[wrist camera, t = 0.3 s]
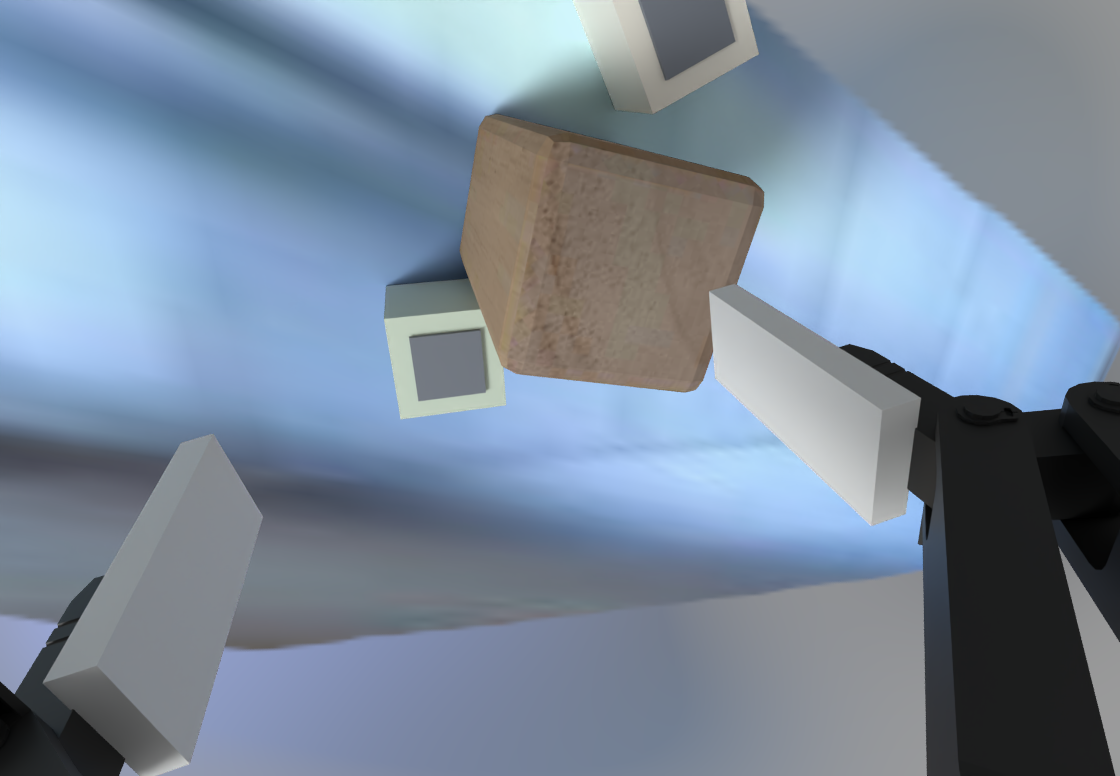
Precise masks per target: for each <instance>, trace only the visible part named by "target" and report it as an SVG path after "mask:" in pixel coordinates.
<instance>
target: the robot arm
mask: <svg viewBox="0 0 1120 776" xmlns="http://www.w3.org/2000/svg"><path fill="white" fill-rule="evenodd" d="M709 300H710V314H711V328H712V342H713V355H714V369H715V379H716V380H717V381H719V382H720V383H721V384H722V385H723V386H724V387H725V388H726V389H727V390H728V391H729V392H730V393H731V394H732V395H733V396H734V397H735V398H736V399H738V400H739V401H740V402H741V403H742V404H743V405H744V406H745V407H746V408H747V409H748V410H749V411H750V412H751V413H752V414H753V415H754V416H755V417H757V418H758V419H759V420H760V421H761V422H762V423H763V424H764V425H765V426H766V427H767V428H768V429H769V430H770V431H771V432H772V433H773V434H775V435H776V436H777V437H778V438H779V439H780V440H781V441H782V442H783V443H784V444H785V445H786V446H787V447H788V448H789V449H790V450H791V451H792V452H794V453H795V454H796V455H797V456H798V457H799V458H800V459H801V460H802V461H803V462H804V463H805V464H806V465H807V466H808V467H809V468H810V469H812V470H813V471H814V472H815V473H816V474H817V475H818V476H819V477H820V478H821V479H822V480H823V481H824V482H825V483H826V484H827V485H828V486H829V487H831V488H832V489H833V490H834V491H835V492H836V493H837V494H838V495H839V496H840V497H841V498H842V499H843V500H844V501H845V502H846V503H847V504H848V505H850V506H851V507H852V508H853V509H854V510H855V511H856V512H857V513H858V514H859V515H860V516H861V517H862V518H863V519H864V520H865V521H866V522H868V523H869V524H870V525H871V526H873V525H876V524H879V523H881V522H884V521H887V520H890V519H893V518H896V517H899V516H901V515H904V514H906V507H907V500H908V492H909V490H910V491H911V492H912V493H913V494H914V495H916V496H917V497H918V498H919V499H921V500H922V501H923V502H924V507H923V514H922V520H921V527H920V534H919V540H918V544H919V545H923V585H924V586H923V588H924V640H925V641H924V643H925V695H926V746H927V747H926V751H927V776H1115V773H1114V769H1113V765H1112V761H1111V757H1110V753H1109V749H1108V745H1107V741H1106V736H1105V732H1104V729H1103V724H1102V720H1101V716H1100V712H1099V708H1098V704H1097V701H1096V696H1095V692H1094V688H1093V684H1092V680H1091V677H1090V672H1089V668H1088V664H1087V660H1086V656H1085V652H1084V648H1083V644H1082V640H1081V636H1080V632H1079V628H1078V624H1077V620H1076V616H1075V612H1074V608H1073V604H1072V599H1071V596H1070V591H1069V587H1068V584H1067V579H1066V575H1065V571H1064V567H1063V563H1062V559H1061V555H1060V551H1059V548H1058V546H1059V547H1060V549H1061V551H1062V552H1063V554H1064V555H1065V557H1066V558H1067V560H1068V561H1069V563H1070V565H1071V566H1072V568H1073V569H1074V571H1075V573H1076V574H1077V576H1078V577H1079V579H1080V580H1081V582H1082V583H1083V585H1084V587H1085V588H1086V590H1087V591H1088V593H1089V595H1090V596H1091V598H1092V599H1093V601H1094V602H1095V604H1096V606H1097V607H1098V609H1099V610H1100V612H1101V613H1102V615H1103V617H1104V618H1105V620H1106V621H1107V623H1108V624H1109V626H1110V628H1111V629H1112V630H1113V632H1114V634H1115V635H1116V637H1117V638H1118V640H1119V642H1120V384H1119V383H1116V382H1089V383H1082V384H1078V385H1076V386H1074V387H1072V388H1069V390H1068V392H1067V393H1066V395H1065V399H1064V402H1063V406H1062V409H1054V410H1043V411H1033V412H1022V411H1021V410H1020V409H1018V408H1017V407H1015V406H1014V405H1012V404H1011V403H1009V402H1006V401H1003V400H1000V399H997V398H993V397H987V396H980V395H963V396H958V397H952V396H951V395H949V394H947V393H946V392H944V391H942V390H940V389H939V388H937V387H935V386H933V385H932V384H930V383H928V382H926V381H925V380H923V379H921V378H920V377H918V376H916V375H914V374H913V373H911V372H909V371H907V372H906V371H905V369H904V368H902V367H900V366H899V365H897V364H895V363H891V362H890V360H888V359H887V358H885V357H883V356H881V355H880V354H878V353H876V352H874V351H873V350H869V349H865V348H862V347H858V346H854V345H851V344H848V345H845V346H842V347H837V346H836V345H834V344H832V343H831V342H829V341H827V340H826V339H824V338H823V337H821V336H819V335H818V334H816V333H814V332H813V331H811V330H810V329H808V328H806V327H805V326H803V325H801V324H800V323H798V322H797V321H795V320H793V319H792V318H790V317H788V316H787V315H785V314H783V313H782V312H780V311H779V310H777V309H775V308H774V307H772V306H770V305H769V304H767V303H766V302H764V301H762V300H761V299H759V298H757V297H756V296H754V295H753V294H751V293H749V292H748V291H746V290H744V289H743V288H741V287H740V286H738V285H736V284H732V285H729V286H725V287H722V288H718V289H715V290H711V291H709ZM262 518H263V516H262V514H261V513H260V511H259V509H258V508H257V506H256V504H255V503H254V501H253V499H252V498H251V496H250V494H249V493H248V491H247V489H246V488H245V486H244V484H243V483H242V481H241V479H240V478H239V476H238V474H237V473H236V471H235V469H234V468H233V466H232V464H231V463H230V461H229V459H228V458H227V456H226V454H225V453H224V451H223V449H222V448H221V446H220V444H219V443H218V441H217V439H216V438H215V436H214V434H210V435H207V436H204V437H200V438H197V439H193V440H190V441H186V442H183V443H181V444H180V446H179V447H178V449H177V451H176V453H175V454H174V456H173V458H172V460H171V461H170V463H169V465H168V466H167V468H166V470H165V472H164V473H163V475H162V477H161V479H160V480H159V482H158V484H157V486H156V487H155V489H154V491H153V492H152V494H151V496H150V498H149V499H148V501H147V503H146V505H145V506H144V508H143V510H142V512H141V513H140V515H139V517H138V518H137V520H136V522H135V524H134V525H133V527H132V529H131V531H130V532H129V534H128V536H127V538H126V539H125V541H124V543H123V544H122V546H121V548H120V550H119V551H118V553H117V555H116V557H115V558H114V560H113V562H112V564H111V565H110V567H109V569H108V570H107V572H106V574H105V575H104V576H101V577H97V578H94V579H93V580H92V581H91V582H90V583H89V584H88V585H87V586H86V587H85V588H84V589H83V590H82V591H81V592H80V593H79V594H78V595H77V596H76V597H75V598H74V599H73V600H72V601H71V603H70V604H69V606H68V608H67V609H66V611H65V613H64V614H63V616H62V617H61V619H60V621H59V622H58V624H57V625H58V628H56V629H54V631H53V632H52V634H51V636H50V637H49V639H48V640H47V642H46V645H47V646H46V647H45V648H43V649H42V650H41V652H40V653H39V655H38V657H37V658H36V660H35V662H34V663H33V665H32V667H31V669H30V670H29V672H28V673H27V675H26V677H25V678H24V680H23V681H22V683H21V685H20V686H19V688H18V689H17V691H16V693H15V694H13V693H12V692H11V691H10V690H9V689H8V688H7V687H6V686H4V685H3V684H2V683H1V682H0V776H119V774H120V772H121V769H122V767H123V764H124V762H125V763H127V764H128V765H129V766H130V767H131V768H132V769H133V770H134V771H135V772H136V773H137V774H138V775H139V776H157V775H160V774H163V773H165V772H168V771H171V770H174V769H177V768H180V767H182V766H185V765H188V764H190V762H191V758H192V755H193V752H194V748H195V745H196V741H197V738H198V735H199V731H200V728H201V725H202V721H203V718H204V715H205V711H206V707H207V704H208V701H209V698H210V694H211V691H212V688H213V684H214V680H215V677H216V674H217V671H218V667H219V663H220V661H221V657H222V654H223V650H224V647H225V644H226V640H227V637H228V633H229V630H230V627H231V623H232V620H233V617H234V613H235V610H236V606H237V603H238V600H239V596H240V593H241V589H242V586H243V583H244V579H245V576H246V573H247V569H248V566H249V562H250V559H251V556H252V552H253V549H254V545H255V542H256V539H257V535H258V532H259V529H260V525H261V522H262Z"/></svg>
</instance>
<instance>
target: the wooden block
mask: <svg viewBox="0 0 1120 776" xmlns="http://www.w3.org/2000/svg"><path fill="white" fill-rule="evenodd" d="M763 208H764V191H763V190H762V189H761V188H760V187H759V186H758V185H757V184H756V183H755V182H754V181H753V180H751V179H750V178H749V177H746V176H743V175H739V174H735V173H731V172H727V171H723V170H719V169H715V168H711V167H707V166H703V165H699V164H695V163H692V162H688V161H684V160H680V159H676V158H672V157H668V156H664V155H660V154H656V153H652V152H648V151H644V150H641V149H637V148H633V147H629V146H625V145H621V144H617V143H613V142H609V141H605V140H601V139H597V138H593V137H589V136H585V135H581V134H577V133H573V132H569V131H564V130H560V129H556V128H552V127H548V126H544V125H540V124H536V123H532V122H528V121H524V120H520V119H516V118H512V117H508V116H504V115H500V114H494V115H489V116H485V118H484V120H483V121H482V123H481V125H480V126H479V131H478V137H477V144H476V150H475V156H474V163H473V169H472V175H471V182H470V188H469V194H468V201H467V207H466V213H465V220H464V226H463V232H462V239H461V245H460V254H461V258H462V262H463V264H464V267H465V270H466V272H467V275H468V278H469V280H470V283H471V286H472V288H473V291H474V294H475V296H476V299H477V302H478V304H479V307H480V310H481V312H482V315H483V318H484V320H485V323H486V326H487V328H488V331H489V334H490V336H491V339H492V342H493V344H494V347H495V350H496V352H497V355H498V358H499V360H500V363H501V366H503V367H505V368H506V369H508V370H510V371H512V372H514V373H516V374H521V375H531V376H540V377H549V378H558V379H567V380H576V381H585V382H594V383H603V384H612V385H621V386H631V387H640V388H649V389H658V390H667V391H676V392H689V391H693V390H696V389H697V387H698V386H699V385H700V384H701V382H702V381H703V379H704V376H705V373H706V370H707V367H708V365H709V362H710V359H711V356H712V353H713V342H712V328H711V314H710V300H709V291H711V290H715V289H718V288H722V287H725V286H729V285H732V284H736V285H737V282H738V279H739V276H740V273H741V270H742V268H743V265H744V262H745V259H746V256H747V253H748V251H749V248H750V245H751V242H752V239H753V236H754V233H755V231H756V228H757V225H758V222H759V219H760V216H761V214H762V211H763Z"/></svg>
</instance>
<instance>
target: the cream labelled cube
mask: <svg viewBox="0 0 1120 776" xmlns="http://www.w3.org/2000/svg"><path fill="white" fill-rule="evenodd" d="M573 3H574V6H575V8H576V11H577V13H578V16H579V18H580V21H581V23H582V26H583V29H584V31H585V34H586V36H587V39H588V41H589V44H590V47H591V49H592V52H593V54H594V57H595V59H596V62H597V64H598V67H599V70H600V72H601V75H602V77H603V80H604V82H605V85H606V88H607V90H608V93H609V95H610V98H611V100H612V103H613V105H614V108H615V110H618V111H627V112H637V113H646V114H655V113H656V112H658V111H660V110H662V109H663V108H665V107H667V106H669V105H670V104H672V103H674V102H676V101H677V100H679V99H681V98H683V97H685V96H686V95H688V94H690V93H692V92H693V91H695V90H697V89H699V88H700V87H702V86H704V85H706V84H707V83H709V82H711V81H713V80H714V79H716V78H718V77H720V76H721V75H723V74H725V73H727V72H728V71H730V70H732V69H734V68H736V67H737V66H739V65H741V64H743V63H744V62H746V61H748V60H750V59H751V58H753V57H755V56H757V55H758V54H759V52H758V48H757V44H756V40H755V36H754V33H753V29H752V25H751V21H750V17H749V13H748V9H747V5H746V1H745V0H573Z"/></svg>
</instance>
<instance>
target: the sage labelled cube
mask: <svg viewBox="0 0 1120 776" xmlns="http://www.w3.org/2000/svg"><path fill="white" fill-rule="evenodd" d="M384 322H385V328H386V334H387V340H388V346H389V352H390V358H391V364H392V370H393V376H394V382H395V388H396V394H397V400H398V406H399V412H400V418H401V419H407V418H414V417H422V416H429V415H437V414H444V413H452V412H459V411H466V410H474V409H481V408H489V407H496V406H504V405H506V398H505V384H504V370H503V366H501V363H500V360H499V358H498V355H497V352H496V350H495V347H494V344H493V342H492V339H491V336H490V334H489V331H488V328H487V326H486V323H485V320H484V318H483V315H482V312H481V310H480V307H479V304H478V302H477V299H476V296H475V294H474V291H473V288H472V286H471V283H470V280H469V278H468V279H457V280H446V281H435V282H424V283H413V284H402V285H391V286H386V294H385V311H384Z"/></svg>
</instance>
